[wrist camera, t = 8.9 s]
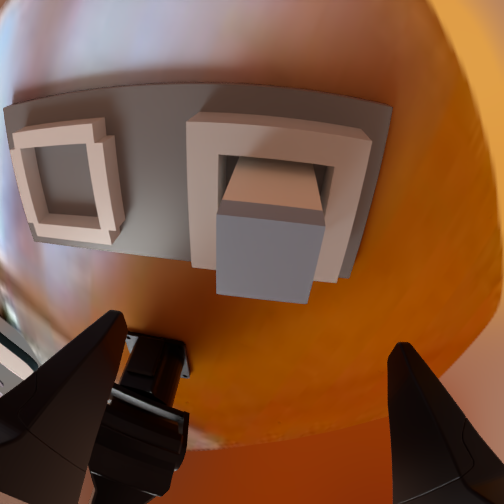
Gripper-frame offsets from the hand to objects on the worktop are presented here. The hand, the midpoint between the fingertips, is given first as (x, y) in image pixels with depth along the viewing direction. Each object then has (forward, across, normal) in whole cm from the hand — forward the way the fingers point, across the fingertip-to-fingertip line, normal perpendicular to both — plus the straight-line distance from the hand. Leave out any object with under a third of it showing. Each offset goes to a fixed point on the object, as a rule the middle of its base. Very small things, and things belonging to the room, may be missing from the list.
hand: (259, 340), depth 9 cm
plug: (+11, 0, 0) cm, 11 cm away
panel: (+12, +7, 0) cm, 14 cm away
